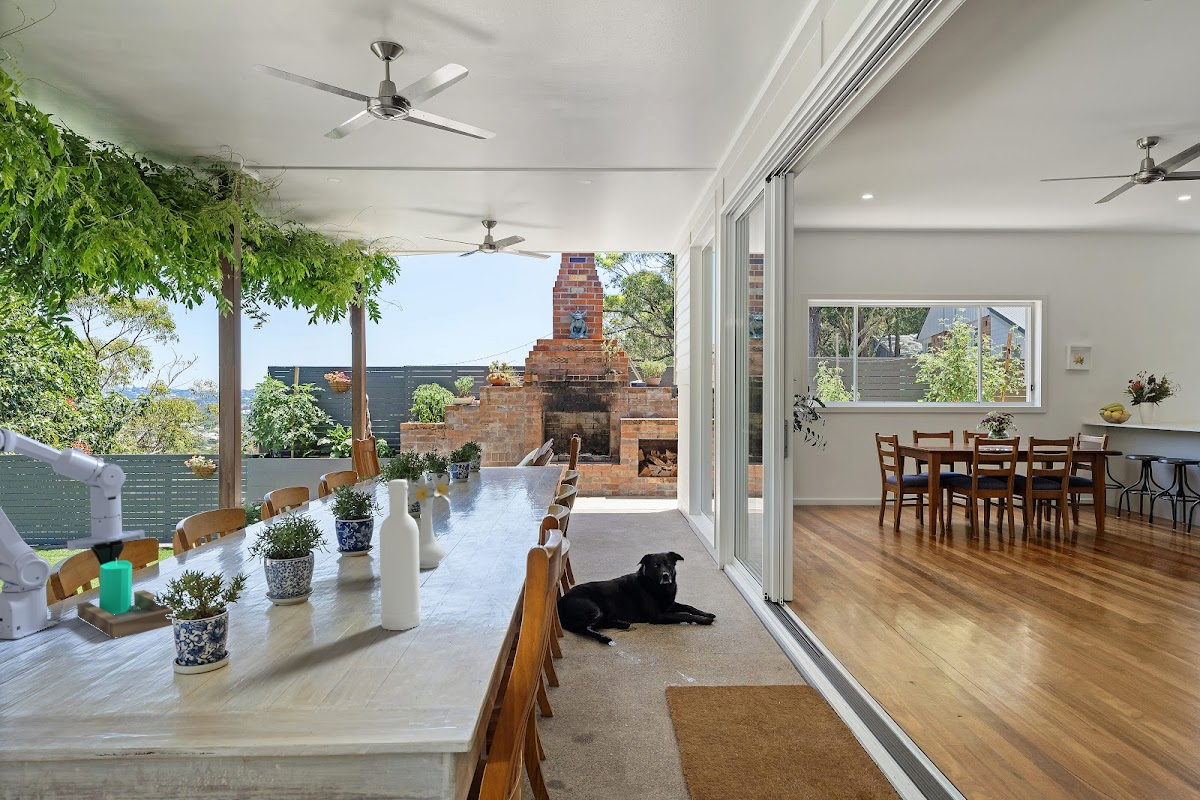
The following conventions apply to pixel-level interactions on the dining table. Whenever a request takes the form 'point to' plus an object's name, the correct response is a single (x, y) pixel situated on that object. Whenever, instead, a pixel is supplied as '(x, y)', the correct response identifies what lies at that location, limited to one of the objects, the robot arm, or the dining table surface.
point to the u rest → (127, 616)
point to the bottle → (399, 563)
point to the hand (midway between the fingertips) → (108, 576)
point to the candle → (115, 587)
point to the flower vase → (428, 516)
